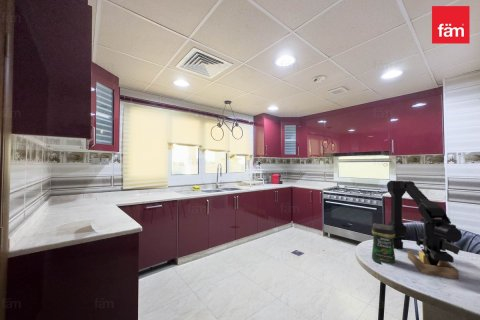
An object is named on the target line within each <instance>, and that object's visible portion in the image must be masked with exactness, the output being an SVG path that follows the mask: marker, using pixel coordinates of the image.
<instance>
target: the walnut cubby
mask: <svg viewBox="0 0 480 320" xmlns="http://www.w3.org/2000/svg"><path fill="white" fill-rule="evenodd" d="M407 258H408V260H409V261H410V262H411V263H412V264H413V265H414V266H415V267H416V268H417V270H418V271H419V272H420V273H421V274H426V275H430V276H431V275H432V276H436V277H437V276H438V277H443V278H449V279H454V280H456V279H457V280H459V276H460V275H459V270H458V269H457V268H456V267H455V266H453V264H452V263H451V262H446V261H439V262H438V266H434V265H427V264H423V263H422V262H421V261H420V260H419V257H418V256H417V255H415V254H414V252H412V251H411V250H407Z"/></svg>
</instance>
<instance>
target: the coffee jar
mask: <svg viewBox="0 0 480 320" xmlns="http://www.w3.org/2000/svg"><path fill="white" fill-rule="evenodd" d="M371 234H372V239H373V240H372V251H371V260H373V262H376V263H379V264H382V263H386V264H389V265H390V264H392V265H393V264H396V254H395V248H394V244H393V239H394V237H395V232H394V228H393V226H390V225H388V224H383V223H375V222H373V224H372V227H371Z"/></svg>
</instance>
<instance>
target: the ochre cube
mask: <svg viewBox="0 0 480 320" xmlns="http://www.w3.org/2000/svg"><path fill="white" fill-rule="evenodd" d="M418 259H419V260H420V261H421V262H422V263H423V264H427V265H430V264H429V262H428V260H427V258H426V256H425V254H424V253H423V251H422V250H421V251H420V250H419V251H418ZM437 266H438V264H437Z"/></svg>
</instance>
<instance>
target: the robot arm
mask: <svg viewBox="0 0 480 320" xmlns="http://www.w3.org/2000/svg"><path fill="white" fill-rule="evenodd" d="M386 188H387V192H388V193H389V195H390V221H389V222H388V223H387V225H390V226H393V228H394V232H395V237H394V239H393V244H394V250H395V249H397V250H400V249H402V250H403V249H404V242H403V240H405V239H406V236H407V229H408V228H407V226H406V225H404V223H403V197H404V195H405V194H407V195H409V197H410V198H411V199H412V200H413V201H414V203H415V204H416V205H417V211H418V212H419V214H420V215H421V217H422V218H420V219H419V221H421V222H423V233H421V234H422V237H423V238H417V239H416V240H415V241H416V242H415V243H416V245H417V246H418V247H421V245H422V247H423V248H421V252H423V253H424V254H425V256H426V258H427V260H428V262H429V264H430V265H434V266H437V264H438V262H439V261H446V262H448V263H454V256H453V255H451V254H450V253H448V252H447V251H449V252H451V253H454V255H458V254H459V253H460V250H461V247H460V246H458V245H457V244H455V243H458V242H460V241H461V240H462V238H463V234H462V232H461V230H460V229H458V228H457V225H456V224H452V221H451V219H450V218H449V217H448V215H447V213H446V211H445V210H444V208H443V207H441V206H440V205H439V204H438V203H436V202H434V201H432V200H430V199H429V198H428V197H427V196H426V195H425V194H424V193H423V192H422V191H421V190H420V189H419V188H418V187H417V186H416V185H415V182H414V181H412V180H389V181H388V182H386Z"/></svg>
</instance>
